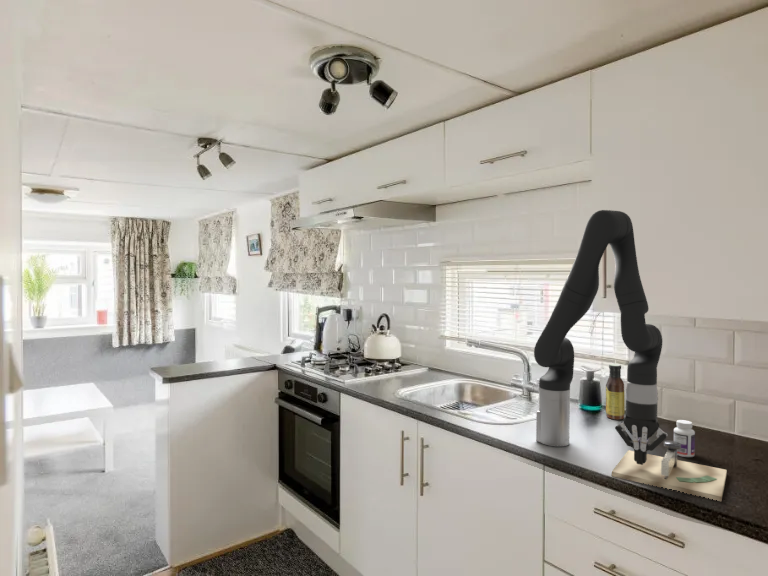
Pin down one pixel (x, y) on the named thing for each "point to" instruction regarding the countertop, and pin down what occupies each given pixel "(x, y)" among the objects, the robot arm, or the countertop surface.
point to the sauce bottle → (615, 393)
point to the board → (674, 476)
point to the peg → (669, 457)
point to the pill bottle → (685, 438)
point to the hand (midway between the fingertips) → (640, 463)
